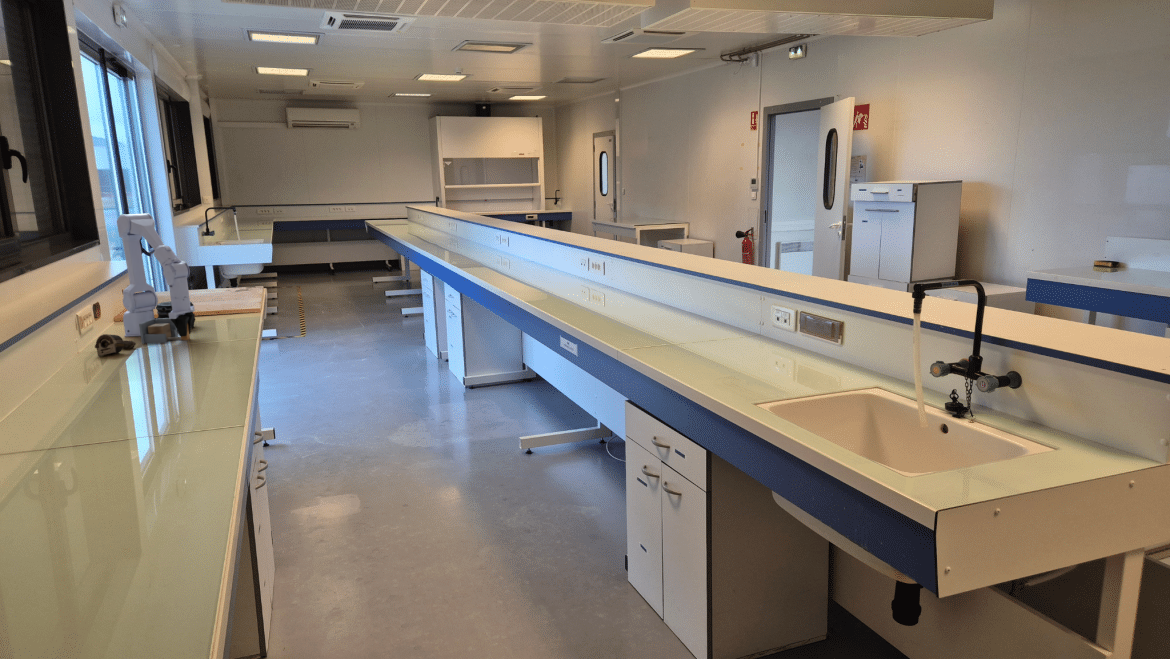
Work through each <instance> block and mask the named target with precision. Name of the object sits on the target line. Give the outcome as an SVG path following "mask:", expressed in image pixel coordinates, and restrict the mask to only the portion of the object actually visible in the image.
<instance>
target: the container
mask: <svg viewBox="0 0 1170 659" xmlns="http://www.w3.org/2000/svg"><path fill="white" fill-rule="evenodd" d="M190 306H194V307H195V305H194V303H193V302H192V301H190ZM155 310H156V311H157V312H156V314H157V315H158V316H157V319H161V318H169V313H170V312H171V311H172V304H171V300H170V301H163V302H158V303H157V306H156V307H155ZM190 313H194V312H190ZM195 321H196V318H195V316H194V318H193V321H192V325H191V329H193V328H194V327H195ZM177 332H178V330H177Z"/></svg>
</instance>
